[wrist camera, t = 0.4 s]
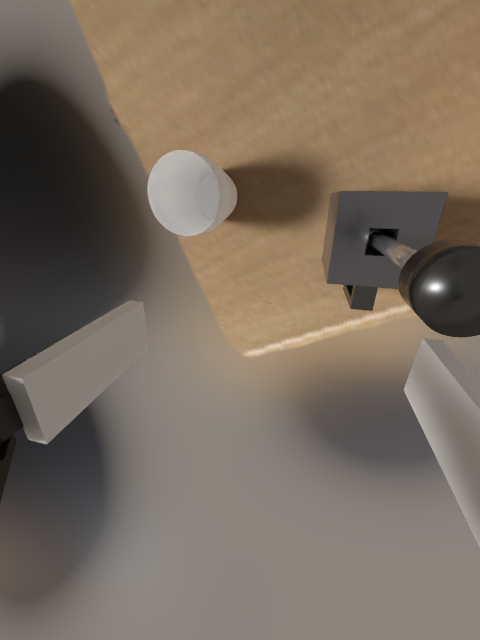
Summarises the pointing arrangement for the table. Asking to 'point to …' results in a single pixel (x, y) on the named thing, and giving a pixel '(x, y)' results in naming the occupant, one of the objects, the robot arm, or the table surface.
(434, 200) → the grey box with handle
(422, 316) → the plunger
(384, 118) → the table surface
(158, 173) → the cup
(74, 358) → the robot arm
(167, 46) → the table surface
